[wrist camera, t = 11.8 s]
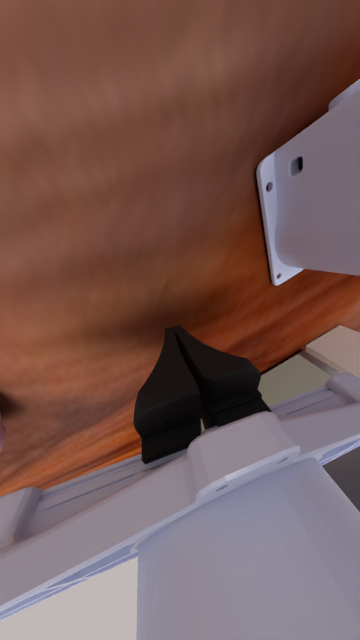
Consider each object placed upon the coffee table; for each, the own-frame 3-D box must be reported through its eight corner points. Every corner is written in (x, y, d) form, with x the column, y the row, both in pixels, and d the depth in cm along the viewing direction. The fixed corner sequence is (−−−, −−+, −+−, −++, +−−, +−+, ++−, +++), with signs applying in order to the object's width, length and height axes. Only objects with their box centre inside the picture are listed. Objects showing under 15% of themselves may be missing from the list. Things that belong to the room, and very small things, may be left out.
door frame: (171, 425, 22) (181, 489, 16) (339, 325, 20) (420, 356, 14) (175, 427, 23) (186, 489, 17) (338, 331, 21) (414, 363, 15)
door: (195, 414, 22) (211, 464, 17) (304, 349, 21) (358, 382, 15) (200, 417, 23) (216, 466, 18) (304, 356, 22) (354, 389, 16)
